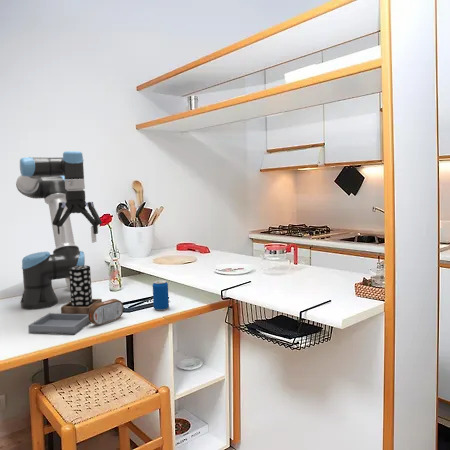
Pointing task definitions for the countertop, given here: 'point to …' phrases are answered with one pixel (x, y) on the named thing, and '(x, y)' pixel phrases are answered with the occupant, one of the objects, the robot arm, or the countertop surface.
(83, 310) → the holder
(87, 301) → the white-spotted black cylinder
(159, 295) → the beverage can
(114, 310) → the tin
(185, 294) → the countertop surface
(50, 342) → the countertop surface
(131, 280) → the countertop surface
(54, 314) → the tray
